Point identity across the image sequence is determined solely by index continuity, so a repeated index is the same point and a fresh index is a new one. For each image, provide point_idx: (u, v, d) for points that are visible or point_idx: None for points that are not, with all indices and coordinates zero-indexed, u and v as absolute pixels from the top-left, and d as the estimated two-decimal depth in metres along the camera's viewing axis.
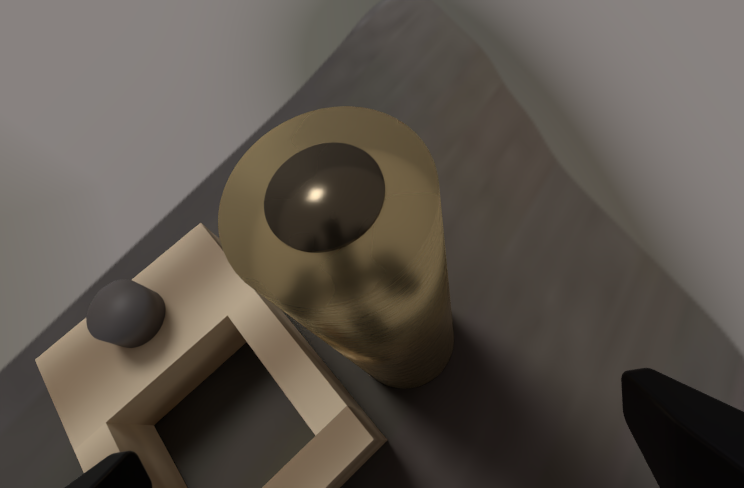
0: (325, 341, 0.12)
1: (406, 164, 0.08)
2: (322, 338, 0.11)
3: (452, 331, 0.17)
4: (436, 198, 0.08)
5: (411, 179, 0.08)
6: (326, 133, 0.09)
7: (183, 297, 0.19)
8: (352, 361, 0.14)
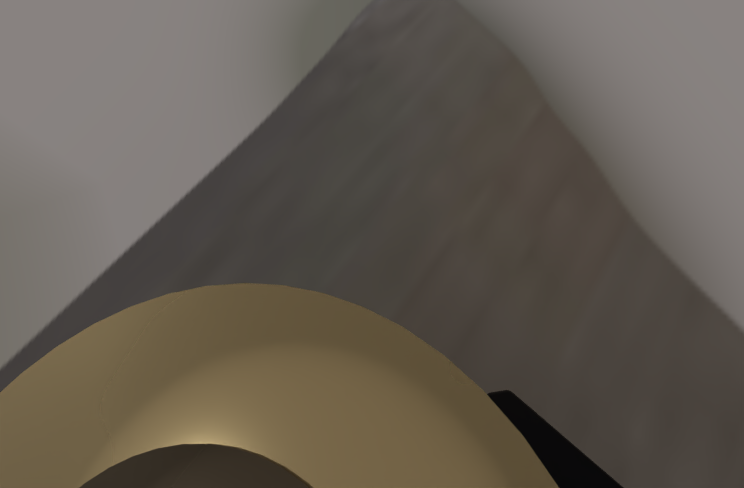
0: None
1: None
2: None
3: None
4: None
5: None
6: (209, 388, 0.03)
7: None
8: None
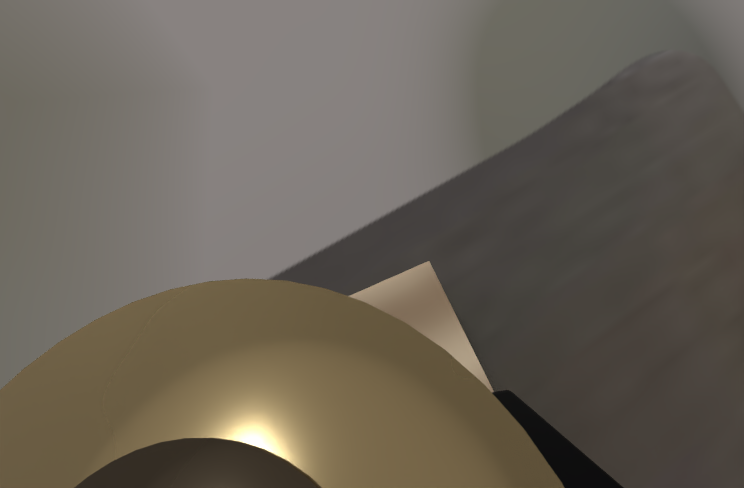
0: None
1: None
2: None
3: None
4: None
5: None
6: (212, 382, 0.03)
7: None
8: None
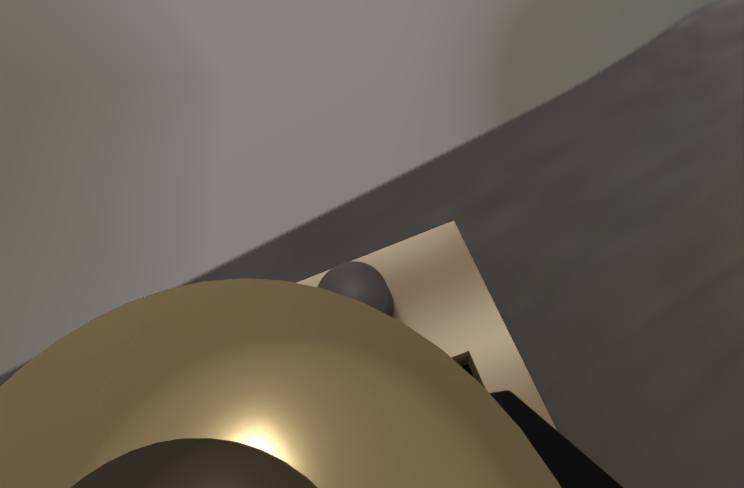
0: None
1: None
2: None
3: None
4: None
5: None
6: (209, 383, 0.03)
7: (417, 304, 0.16)
8: None
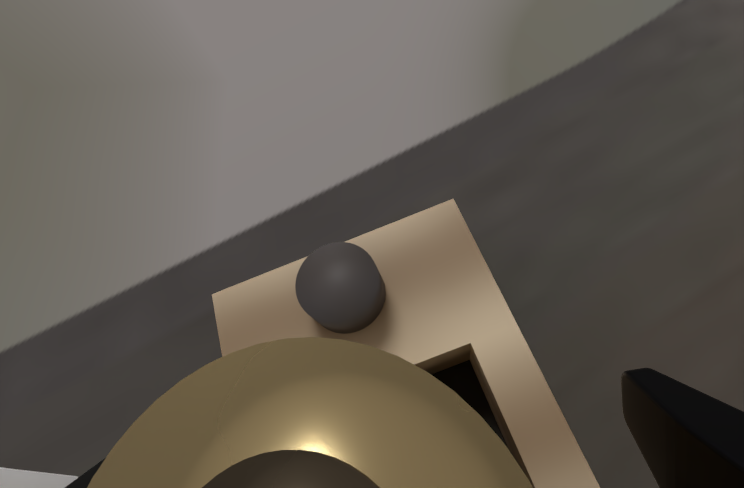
0: None
1: None
2: None
3: None
4: None
5: None
6: (295, 411, 0.04)
7: (412, 291, 0.14)
8: None
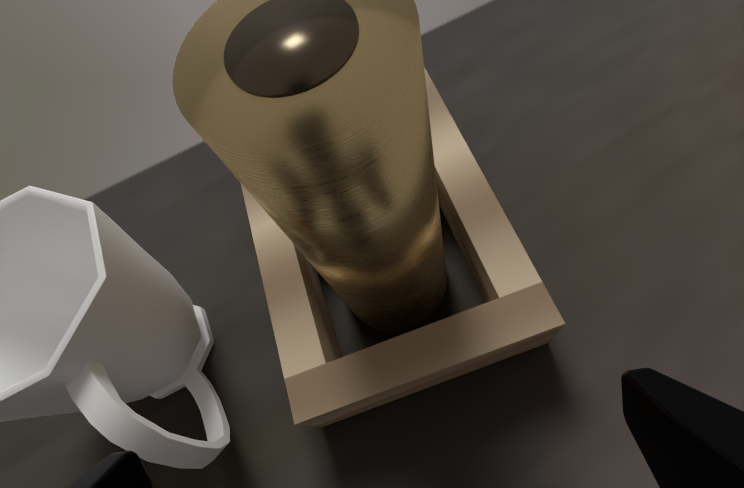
0: (301, 245, 0.11)
1: (383, 6, 0.07)
2: (296, 235, 0.10)
3: (444, 267, 0.16)
4: (416, 36, 0.07)
5: (388, 20, 0.07)
6: None
7: None
8: (335, 285, 0.13)
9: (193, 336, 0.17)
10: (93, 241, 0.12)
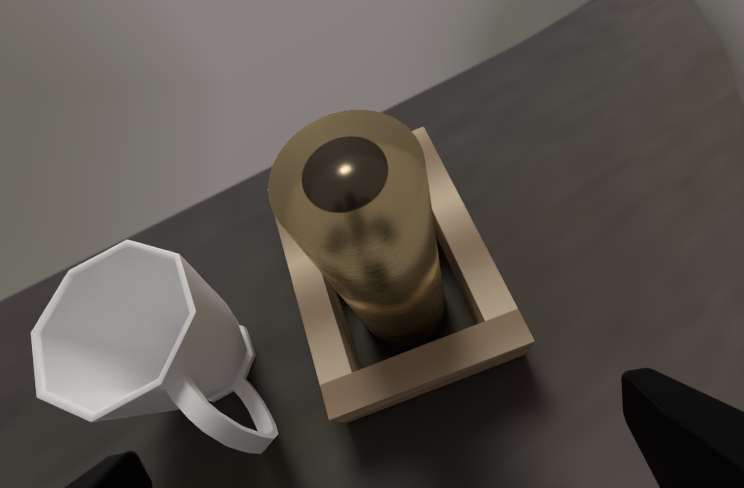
0: (341, 290, 0.15)
1: (403, 151, 0.12)
2: (339, 285, 0.14)
3: (442, 295, 0.20)
4: (424, 174, 0.11)
5: (406, 162, 0.12)
6: (345, 129, 0.12)
7: None
8: (360, 314, 0.18)
9: (242, 351, 0.21)
10: (183, 285, 0.16)
